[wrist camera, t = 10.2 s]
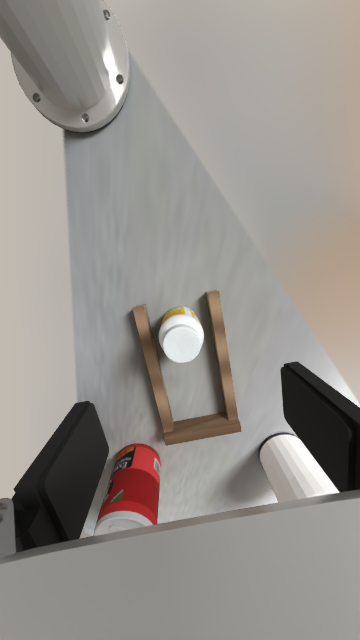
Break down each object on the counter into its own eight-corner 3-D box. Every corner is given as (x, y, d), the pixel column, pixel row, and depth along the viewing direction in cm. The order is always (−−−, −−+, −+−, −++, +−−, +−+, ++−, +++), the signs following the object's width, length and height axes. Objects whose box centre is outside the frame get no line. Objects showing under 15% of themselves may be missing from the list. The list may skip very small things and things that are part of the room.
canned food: (129, 435, 34) (108, 508, 24) (169, 453, 36) (167, 531, 25) (109, 466, 36) (81, 549, 25) (148, 483, 37) (138, 569, 26)
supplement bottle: (203, 312, 30) (216, 330, 21) (190, 344, 31) (197, 375, 22) (169, 300, 29) (166, 313, 20) (157, 333, 30) (149, 360, 21)
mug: (249, 466, 37) (278, 539, 27) (264, 426, 35) (301, 487, 25) (305, 475, 38) (352, 549, 28) (323, 436, 36) (381, 500, 26)
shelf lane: (135, 306, 29) (130, 310, 26) (216, 290, 29) (220, 292, 26) (166, 430, 34) (165, 445, 32) (235, 417, 34) (241, 431, 31)
